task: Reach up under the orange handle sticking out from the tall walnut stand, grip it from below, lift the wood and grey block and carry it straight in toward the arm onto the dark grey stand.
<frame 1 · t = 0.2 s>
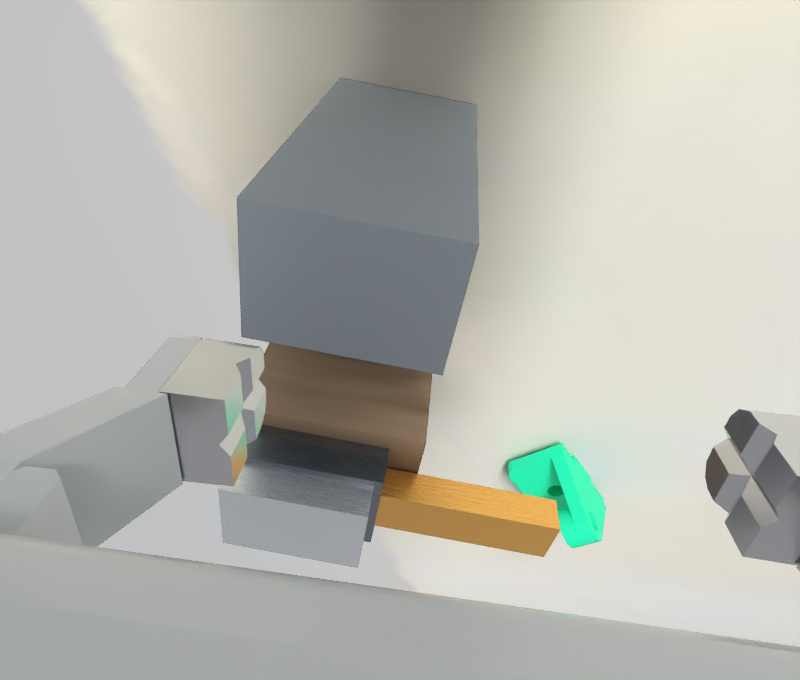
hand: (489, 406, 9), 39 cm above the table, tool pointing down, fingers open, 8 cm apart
wood and grey block: (311, 466, 33), point 25 cm above the table, touching walnut stand
grey stand: (400, 141, 45), on the table
camera mount: (553, 473, 69), on the table
walnut stand: (381, 267, 53), on the table
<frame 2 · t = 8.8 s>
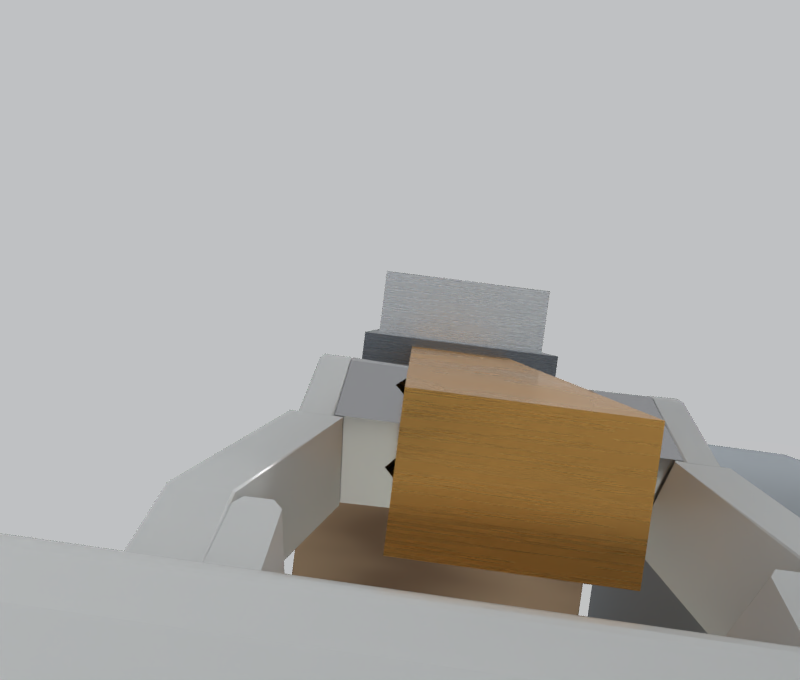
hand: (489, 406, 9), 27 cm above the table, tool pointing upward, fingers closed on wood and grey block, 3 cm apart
wood and grey block: (443, 402, 21), point 25 cm above the table, touching gripper, walnut stand
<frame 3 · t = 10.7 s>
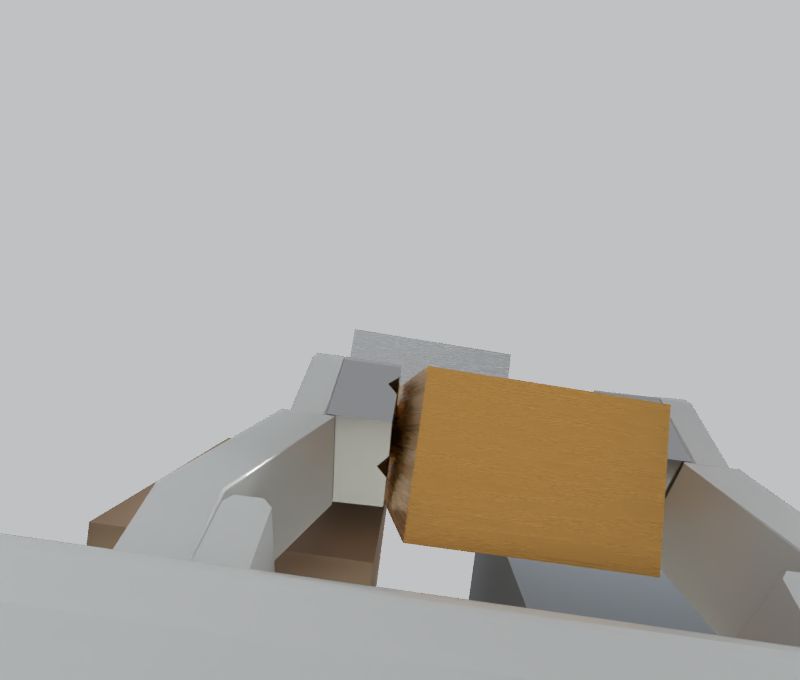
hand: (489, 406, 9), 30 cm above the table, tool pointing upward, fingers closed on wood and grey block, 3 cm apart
wood and grey block: (401, 471, 21), point 26 cm above the table, tilted 12°, touching gripper
when the fingers open (27 cm above the table, at t = 13.0 s): wood and grey block stays where it is, resting on grey stand.
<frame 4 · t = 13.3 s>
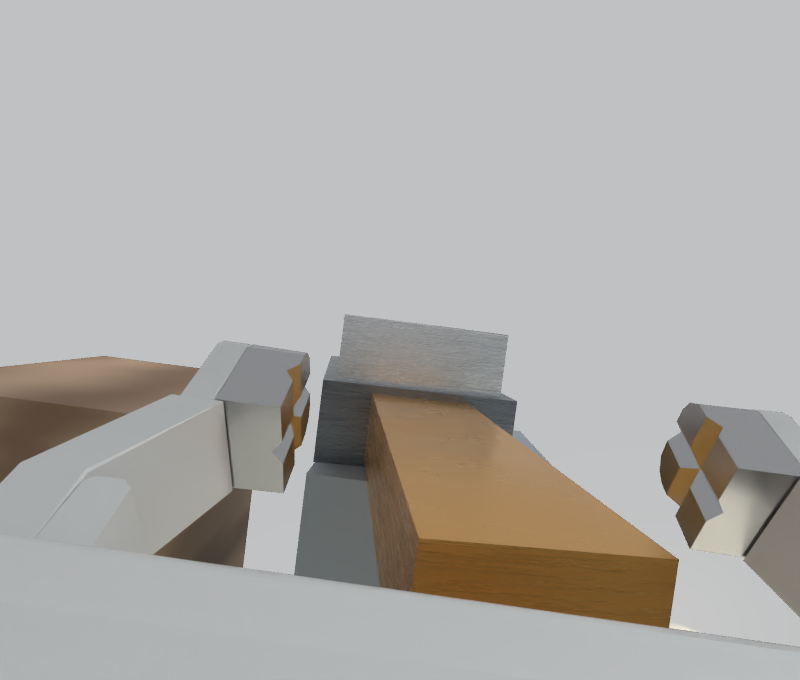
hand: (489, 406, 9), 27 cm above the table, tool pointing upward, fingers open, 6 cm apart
wood and grey block: (397, 437, 21), point 24 cm above the table, touching grey stand
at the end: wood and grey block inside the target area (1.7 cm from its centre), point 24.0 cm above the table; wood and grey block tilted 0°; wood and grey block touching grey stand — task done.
